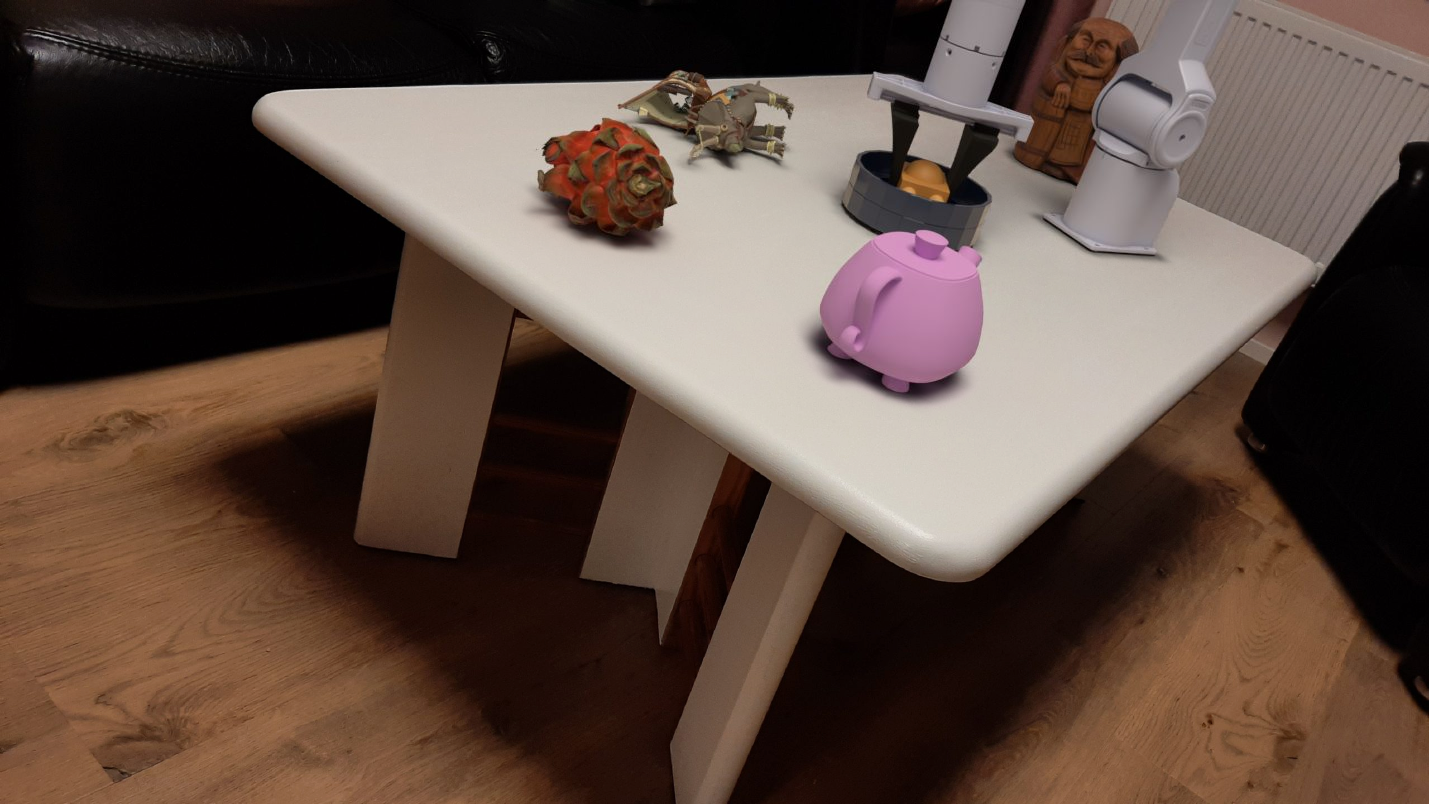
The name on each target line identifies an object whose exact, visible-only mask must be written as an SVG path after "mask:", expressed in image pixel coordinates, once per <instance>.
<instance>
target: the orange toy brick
mask: <svg viewBox="0 0 1429 804" xmlns="http://www.w3.org/2000/svg"><path fill="white" fill-rule="evenodd" d="M929 160H930V159H927V160H916V161H914V162H912V163H909V162H905V163H904V166H903V170H902V174H901V177H900V180H899V182H898V185H897V188H899V189H902V190H904V191H907V192H909V193H912V194H915V195H918V196H921V197H924V198H928V199H931V200H935V201H939V202H944V203H946V202H947V199H948V197H949V194H950V191H949V188H948V184H947V181H946V177H945V173H944V172H942V170H941V169H940V167H939V166H938V165H937V164H935V163H934V162H935V161H933V160H930V161H929ZM932 161H933V162H932Z"/></svg>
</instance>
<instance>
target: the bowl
mask: <svg viewBox="0 0 1429 804" xmlns="http://www.w3.org/2000/svg"><path fill="white" fill-rule="evenodd" d="M891 160H892V150H884V149H872V150H864V151H861V152H858V153H857V155H856V158H855V160H854V163H853V167H852V170H851V172H850V176H849V178H848V181H847V185H846V188H845V190H844V194H843V197H842V199H841V200H842V203H843V205H844V207H845V209H846V211H848V212H849V213H850V214H851V215H853V216H854V217H855V218H856V219H858V220H859V221H860V222H862V223H864V224H865V225H867V226H869V227H871V228H872V229H874V230H877V231H879V232H881V233H882V234H885V233H889V232H907V233H912V234H916V231H918V230H928V231H932V232H935V233H938V234H940V235H941V236H943V237H944V238H945V239H947V240H948V245H947V247H949V248H951V249H952V250H954V251H959V250H960V248H961V247H962V246H967V247H970V248H971V247H972V246H973V245H975V244H976V243H977V241H978V240H977V239H978V237H979V236H980V235H979V234H980V232H981V230H982V228H983V225H984V223H985V220H986V219H987V215H988V213H989V211H990V207H991V206H992V203H993V199H992V198H993V197H992V194H991V193H990V192H989V191H988V189H987V188H986V187H985V186H983V185H982V184H980V183H979V182H978V181H976V180H975V179H973V178H972V177H970V176H969V175H968V176H967V178H966V179H965V180H964V181H963V183H962V184H961V185H960V187H959V188H958V190H957V191H956V193H955V194H954V196H953V197H952V199H951V201H950V203H944V202H939V201H935V200H931V199H928V198H924V197H921V196H918V195H915V194H912V193H909V192H907V191H904V190H902V189H899V188H897V187H895V186H892V185H890V184H888V183H887V182H888V178H889V174H890V168H891ZM916 160H929V161H932V162H934V163H935V164H937V165H938V166H939V167H940V169H941V170H942V172H944V173H945V177H947V175H948V172H949V170H950V168H951V167H950V166H949V167H948V166H946V165H944V164H941V163H939V162H937V161H934V160H930V159H927V158H923V157H920V156H918V155H912V154H909V153H908V154H907V156H906V159H905V162H909V163H912V162H914V161H916Z"/></svg>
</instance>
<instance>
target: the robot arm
mask: <svg viewBox="0 0 1429 804" xmlns="http://www.w3.org/2000/svg"><path fill="white" fill-rule="evenodd" d="M1240 1H1241V0H1172V1H1171V3H1170V4H1169V6H1168V9H1167V11H1166V12H1165V15H1164V17H1163V19H1162V21H1161V23H1160V25H1159V27H1158V28H1157V31H1156V33H1155V35H1154V37H1153V39H1152V42H1151V44H1150V46H1149V47H1147V48H1146V49H1143V50H1142V51H1139V53H1137V54H1135V55H1132V56H1130V57H1128V58H1126V59H1124V60H1123V61H1122V62H1121V64H1120V66H1119V69H1118V70H1117V72H1116V74H1115V76H1114V77H1113V78H1112V80H1111V81H1110V82H1109V83H1108V84H1107V85H1106V86H1105V87H1104V88H1103V90H1102V91H1101V92H1100V94H1099V95H1098V97H1097V99H1096V101H1095V103H1094V106H1093V110H1092V124H1093V126H1094V128H1095V130H1096V131H1095V133H1094V136H1093V138H1092V139H1093V140H1095V141H1096V142H1097V143H1096V145H1095V147H1094V149H1093V152H1092V154H1091V156H1090V158H1089V160H1088V163H1087V165H1086V167H1085V169H1084V172H1083V174H1082V176H1081V178H1080V181H1079V183H1078V184H1077V186H1076V187H1075V190H1074V192H1073V194H1072V196H1071V199H1070V201H1069V203H1068V206H1067V207H1066V210H1065V211H1064V214H1061V213H1060V214H1059V213H1048V212H1045V213H1044V214H1043V218H1044V219H1045V220H1047V221H1048V222H1049V223H1051V224H1052V225H1054V226H1056V227H1057V228H1058V229H1060V230H1061V231H1062V232H1064V233H1066V234H1067V235H1069V236H1070V237H1071V238H1073V239H1074V240H1076V241H1077V242H1079V244H1081V245H1083V246H1084V247H1086V248H1088V249H1089V250H1091V251H1096V252H1111V253H1125V254H1141V255H1152V256H1153V255H1154V256H1155V255H1157V254H1158V250H1157V248H1155V247H1154V244H1155V243H1156V240H1157V239H1158V236H1159V234H1160V233H1161V231H1162V228H1163V226H1164V224H1165V223H1166V220H1167V219H1168V216H1169V214H1170V212H1171V210H1172V208H1173V207H1174V204H1175V202H1176V200H1177V198H1178V195H1179V192H1180V176H1179V173H1178V171H1177V169H1176V168H1175V167H1177V166H1179V165H1181V164H1183V163H1184V162H1185V161H1187V160H1188V159H1189V158H1190V157H1191V156H1192V155H1194V153H1195V152H1196V151H1197V150H1198V148H1199V147H1200V145H1201V143H1202V141H1203V139H1204V138H1205V137H1204V136H1205V133H1206V130H1207V124H1208V119H1209V116H1210V113H1211V110H1212V108H1213V107H1214V105H1215V102H1217V94H1216V92H1215V91H1216V90H1215V88H1214V86H1213V84H1212V82H1211V79H1210V77H1209V75H1208V72H1207V70H1206V67H1207V64H1208V63H1209V62H1210V61H1209V60H1210V59H1211V57H1212V55H1213V53H1214V51H1215V49H1216V48H1217V45H1218V43H1219V41H1220V39H1221V37H1222V36H1223V34H1224V32H1225V30H1226V28H1227V26H1228V24H1229V22H1230V20H1231V18H1232V16H1233V15H1234V12H1235V11H1236V9H1237V6H1238V4H1239V3H1240ZM1025 3H1026V0H951V3H950V5H949V9H948V11H947V14H946V18H945V19H944V23H943V26H942V29H941V31H940V35H939V38H938V41H937V43H936V46H935V49H934V52H933V55H932V58H931V61H930V63H929V66H928V69H927V72H926V75H925V78H924V81H918V80H917V81H916V80H913V79H908V78H903V77H898V76H893V75H889V74H885V73H881V72H877V71H873V72H872V76H871V78H870V81H869V85H868V88H867V91H866V92H867V93H866V97H867V98H868V99H871V100H874V101H880V100H881V101H884V102H888V103H890V113H891V130H892V132H891V133H892V148H891V151H892V160H891V168H890V174H889V178H888V182H887V183H888V184H890V185H892V186H895V187H897V185H898V182H899V180H900V177H901V174H902V170H903V166H904V163H905V159H906V156H907V154H909V151H910V148H911V146H912V144H913V141H914V139H915V136H916V135H917V132H918V130H919V127H920V122H919V119H920V117H921V114H920V112H923V113H927V114H930V115H934V116H938V117H941V118H945V119H948V120H951V121H954V122H958V123H962V124H964V125H963V130H962V133H961V136H960V139H959V143H958V145H957V149H956V152H955V154H954V158H953V160H952V163H951V166H950V167H949V168H950V170H949V172H948V175H947V177H946V181H947V184H948V188H949V191H950V194H949V197H948V199H947V202H946V203H950V201H951V199H952V197H953V196H954V194H955V193H956V191H957V190H958V188H959V187H960V185H961V184H962V183H963V181H964V180H965V179H966V178H967V176H968V177H969V176H970V174H971V173H972V172H973V171H974V170H975V169H976V168H977V167H978V166H979V164H980V163H982V162H983V161H984V160H985V159H986V158H987V157H988V156H989V155H990V154H992V153H993V152H994V151H995V150H996V148H997V147H998V144H999V143H1000V139H999V135H1004V136H1007V137H1011V138H1013V139H1014V140H1015V141H1022V142H1026V141H1027V138H1028V136H1029V134H1030V131H1031V129H1032V126H1033V124H1034V121H1033V119H1032V118H1031V116H1029V115H1027V114H1025V113H1022V112H1018V111H1016V110H1012V109H1010V108H1007V107H1004V106H1002V105H999V104H996V103H993V102H990V101H988V100H989V98H990V95H991V92H992V90H993V87H994V84H995V82H996V79H997V77H998V74H999V71H1000V68H1001V65H1002V63H1003V61H1004V58H1005V56H1006V52H1007V50H1008V47H1009V44H1010V42H1011V39H1012V37H1013V33H1014V31H1015V29H1016V26H1017V24H1018V22H1019V21H1018V20H1019V19H1020V15H1021V13H1022V11H1023V8H1024V6H1025ZM1153 84H1155V85H1157V86H1159V87H1161V88H1163V89H1165V90H1163V89H1161V88H1159V87H1157V86H1155V85H1153ZM1166 90H1167V91H1168V92H1167V91H1166Z"/></svg>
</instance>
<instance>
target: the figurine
mask: <svg viewBox="0 0 1429 804" xmlns="http://www.w3.org/2000/svg"><path fill="white" fill-rule="evenodd" d="M707 81H708V79H706V78H705V76H704V75H703V74H700V73H698V72H692V71H691V72H688V71H684V70H681V69H678V70H674V71H672V72H671V73H669V75H667V76H666V78H664V79H662V80H661V81H659V82H658V83H656V84H655V85H653V86H652V87H650V88H649V89H647V90H646V91H644V92H641V93H640V94H637V95H636V96H634V97H632V98H631V99H629V100H627V101H626V102H623V103H618V104H617V108H618V110H621V109H624V110H630V111H632V112H636V113H637V116H638V117H641V116H642V117H643V116H646V117H649V118H651V119H653V120H654V121H657V122H658V123H660V124H663V125H665V126H668V127H671V128H672V129H675V130H677V131H680V130H682V129H684V130H686V132H685V134H684V135H683V138H686V136H687V134H688V133H689V132H690V130H691V129H693V128H694V132H695V135H696V136H697V138H696V140H695V141H696V142H698V141H700V143H698V144H696V145H694V146H693V147H692V149H691V151H690V152H689V160H692V159H695V158H698V157H699V156H700V155H702V152H703V149H704V148H706V147H707V148H708V149H710V150H711V151H712V150H714V151H720V150H722V149H724V150H725V151H726V152H728V153H731V154H734V155H737V154H738V152H742V150H744V148H748V149H751V150H753V151H765V152H767V154H768V153H769V154H770V156H771V155H772V154H773V155H774V154H777V155H778V156H779V158H780V159H782V160H783V159H784V155H785V150H786V148H785V147H786V145H787V143H786V142H784V140H783V139H784V138H785V134H786V131H785V130H786V129H787V126H786V125H776V126H775V125H774V124H771V123H770V122H768V124H764V125H755V121H756V118H757V113H758V110H757V105H756V104H766V105H767V106H768V107H770V108H771V107H774V108H776V110H779V109H780V111H782V110H784V112H785V113H786V114H787V119H788V120H789V121H791V120H792V116H793V114H794V108H795V105H794V103H792V102H791V101H789V99H791V97H790V96H786V95H783V93H780V92H777V93H776V92H774V91H771V90H770V89H768V88H766V87H764V86H761V80H760V79H759V80H757V81H756V84H754V83H749V82H748V83H743V84H737V85H731V86H728V87H725V88H723V89H721V90H719V91H717V92H715V93H713V91H712V89H711V87H710V86H709V83H708V82H707ZM670 94H671V95H672V96H678V94H679V95H683V96H686V97H684V101H685V102H684V103H683V105H680V103H679V102H675V103H674V101H673V100H672V98H671V97H670ZM755 137H764V138H765V139H768V138H770V139H772V138H776V139H778V140H780V142H781V143H780V142H777V141H776V140H769V141H767V142H766V141H760V140H756V139H755V140H754V139H752V138H755ZM782 142H783V143H782ZM698 152H699V153H698ZM695 153H698V155H695Z"/></svg>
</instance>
